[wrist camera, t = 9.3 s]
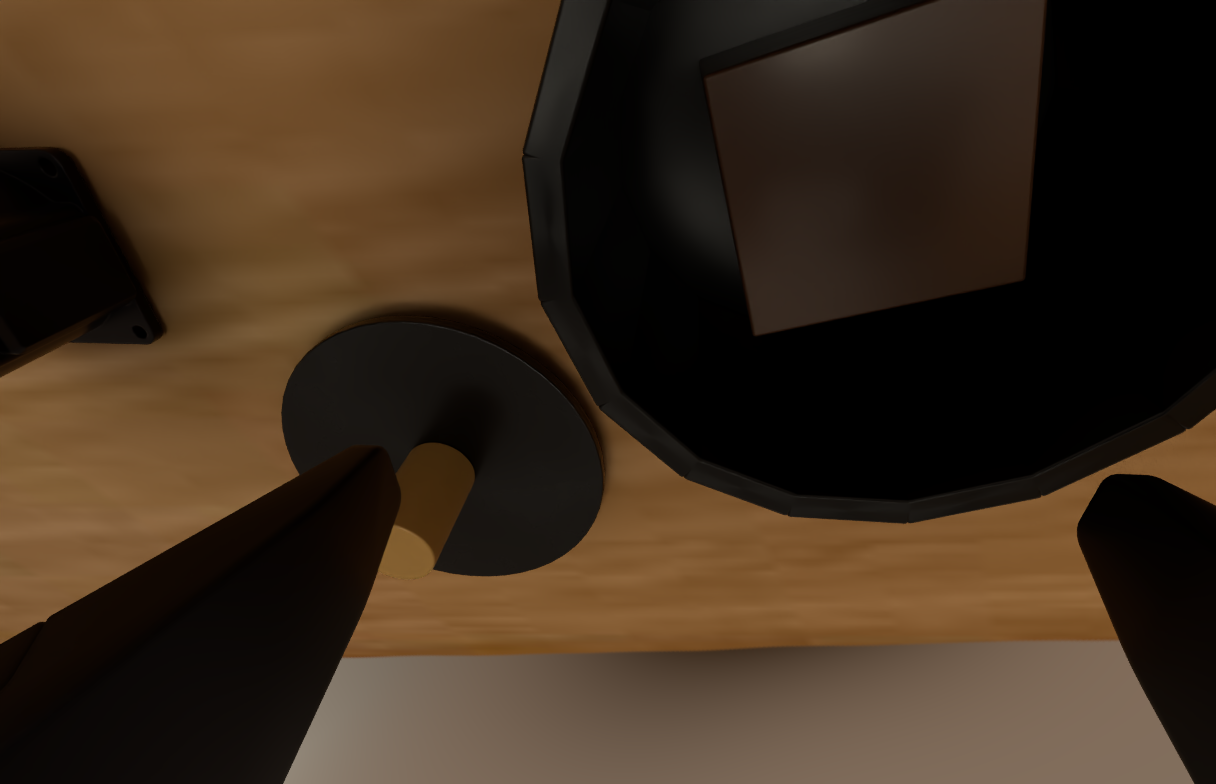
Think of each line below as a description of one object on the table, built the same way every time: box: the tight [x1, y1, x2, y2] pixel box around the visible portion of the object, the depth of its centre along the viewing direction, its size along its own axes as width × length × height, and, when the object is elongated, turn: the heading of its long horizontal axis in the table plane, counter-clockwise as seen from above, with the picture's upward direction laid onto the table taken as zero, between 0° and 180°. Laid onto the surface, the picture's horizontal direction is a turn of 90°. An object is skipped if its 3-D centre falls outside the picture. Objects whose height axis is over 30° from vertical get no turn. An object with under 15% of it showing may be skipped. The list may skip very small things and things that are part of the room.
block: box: [699, 0, 1047, 337], centre depth 12 cm, size 5×5×5 cm
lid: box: [281, 315, 605, 580], centre depth 20 cm, size 12×12×5 cm
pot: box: [522, 0, 1216, 524], centre depth 11 cm, size 11×11×8 cm
